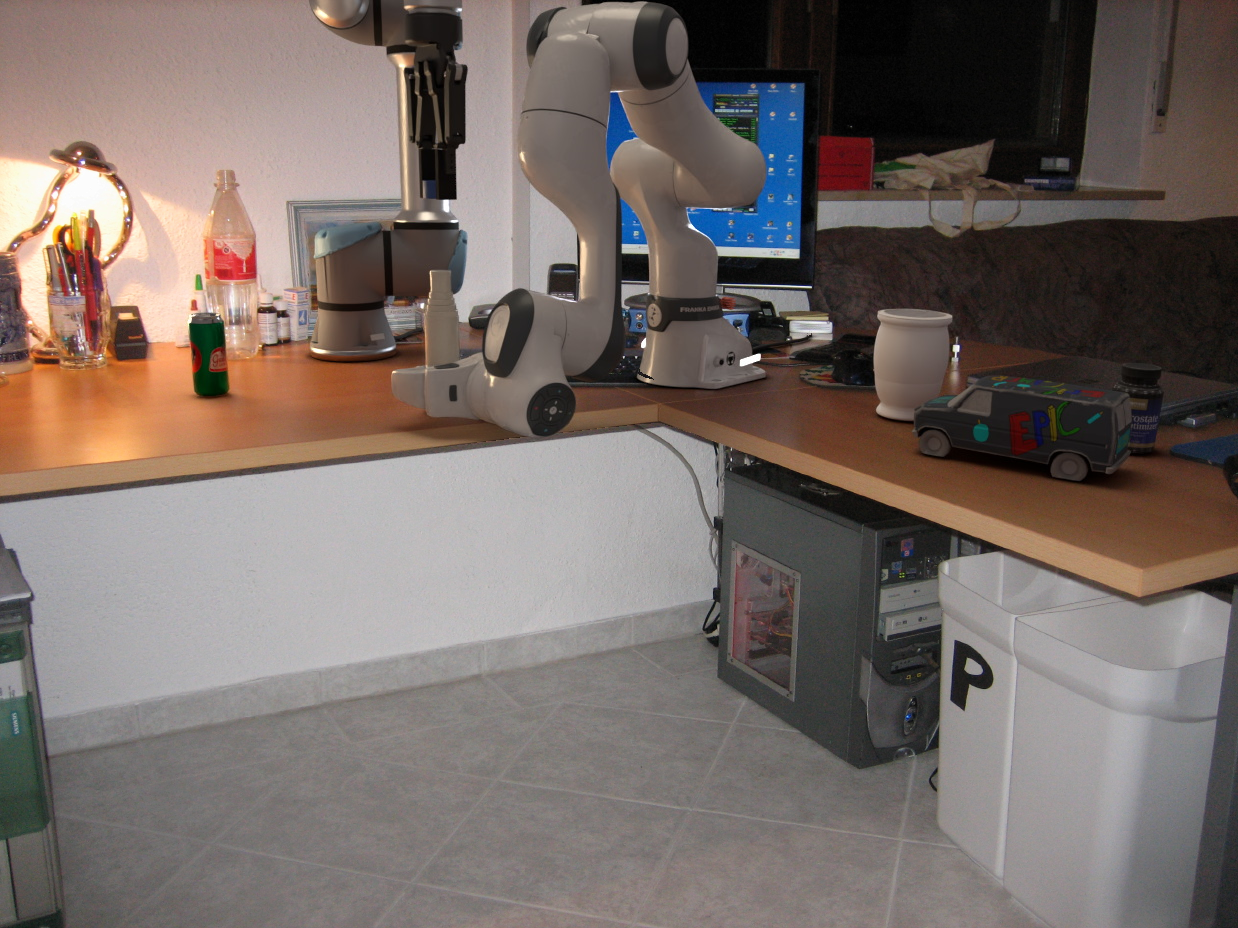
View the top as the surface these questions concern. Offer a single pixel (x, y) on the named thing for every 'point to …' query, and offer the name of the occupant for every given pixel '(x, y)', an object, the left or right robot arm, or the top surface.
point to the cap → (429, 189)
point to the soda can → (208, 354)
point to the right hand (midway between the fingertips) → (439, 369)
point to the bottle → (441, 321)
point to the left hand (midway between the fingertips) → (438, 198)
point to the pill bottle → (1142, 403)
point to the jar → (909, 359)
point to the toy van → (1031, 424)
